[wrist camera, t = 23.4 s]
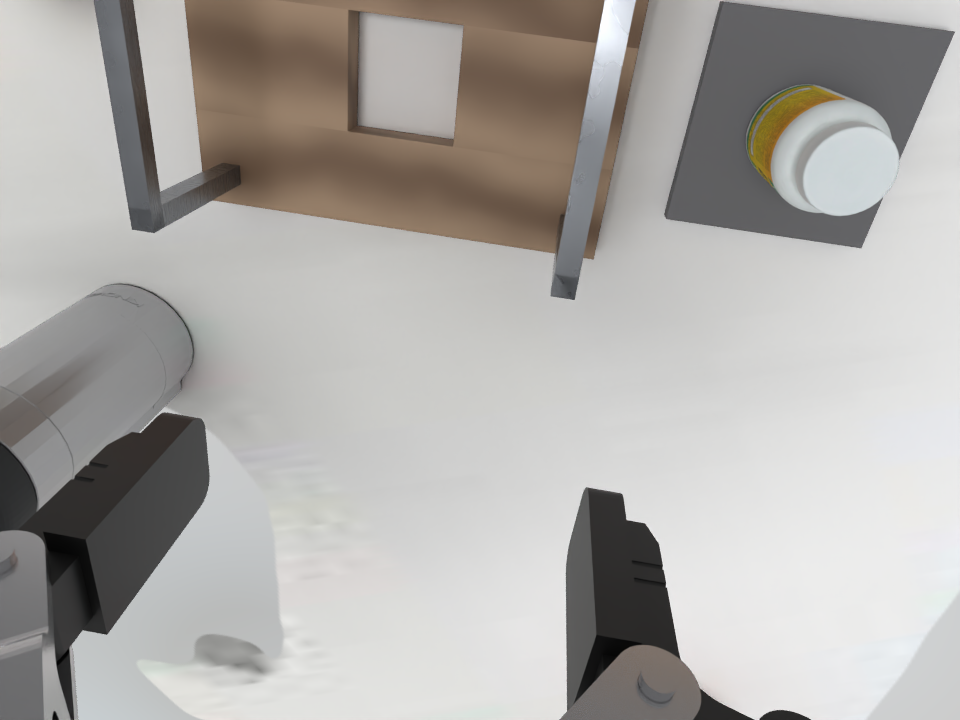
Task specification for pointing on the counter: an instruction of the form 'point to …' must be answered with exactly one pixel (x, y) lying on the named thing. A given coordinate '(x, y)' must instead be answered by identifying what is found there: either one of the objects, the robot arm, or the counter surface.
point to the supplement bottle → (822, 150)
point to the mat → (770, 69)
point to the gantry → (181, 199)
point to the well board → (398, 155)
